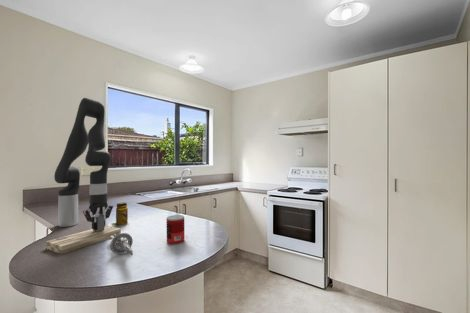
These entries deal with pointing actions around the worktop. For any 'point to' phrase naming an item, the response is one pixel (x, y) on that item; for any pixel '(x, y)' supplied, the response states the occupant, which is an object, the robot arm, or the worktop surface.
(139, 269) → the worktop surface
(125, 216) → the condiment
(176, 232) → the canned food
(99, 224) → the fader knob
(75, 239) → the wooden board
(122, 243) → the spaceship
